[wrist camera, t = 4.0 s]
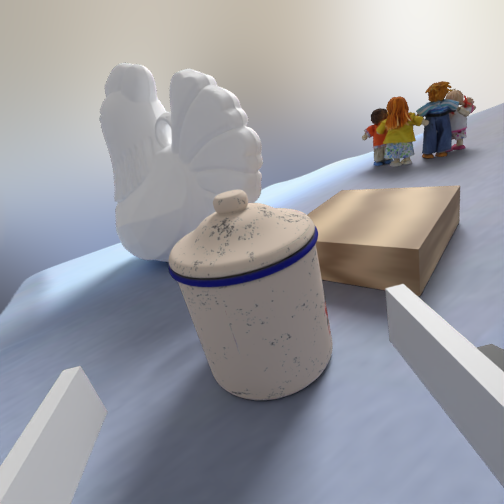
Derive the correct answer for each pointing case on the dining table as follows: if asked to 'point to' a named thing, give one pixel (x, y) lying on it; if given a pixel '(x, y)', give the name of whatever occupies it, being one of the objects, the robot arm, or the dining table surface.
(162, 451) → the dining table surface
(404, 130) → the doll family
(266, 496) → the dining table surface
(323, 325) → the teacup with lid
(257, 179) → the decorative rooster
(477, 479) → the dining table surface
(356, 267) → the oak slab
